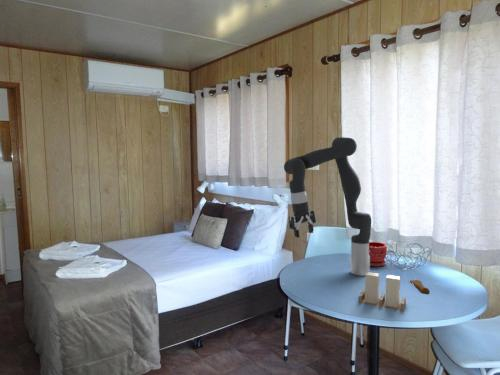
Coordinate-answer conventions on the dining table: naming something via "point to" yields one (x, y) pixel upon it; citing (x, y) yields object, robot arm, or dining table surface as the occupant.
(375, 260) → the plant pot
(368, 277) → the beige rectangular block
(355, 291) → the dining table surface
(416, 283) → the primitive tool
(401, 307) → the rack
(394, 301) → the tall square post
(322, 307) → the dining table surface
